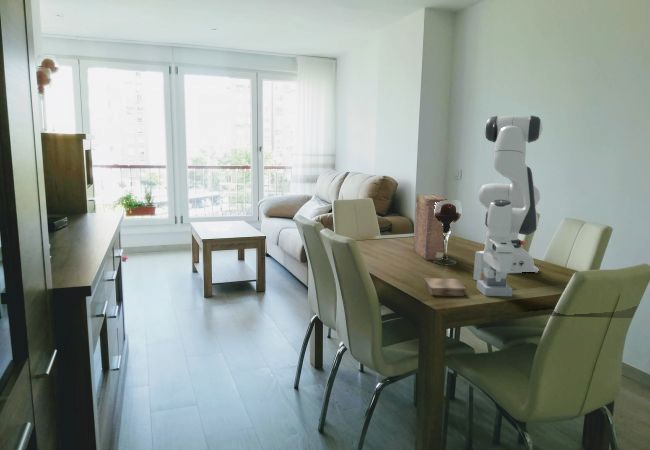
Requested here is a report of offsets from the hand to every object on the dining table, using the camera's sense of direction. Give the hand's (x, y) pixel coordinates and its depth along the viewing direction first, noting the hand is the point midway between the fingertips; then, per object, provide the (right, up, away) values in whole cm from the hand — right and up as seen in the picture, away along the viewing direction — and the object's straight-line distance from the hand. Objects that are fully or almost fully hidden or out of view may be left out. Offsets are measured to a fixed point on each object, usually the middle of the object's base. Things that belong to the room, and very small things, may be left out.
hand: (494, 278), depth 179 cm
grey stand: (0, -5, +1) cm, 5 cm away
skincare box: (+1, -3, +18) cm, 18 cm away
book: (-11, +5, +64) cm, 65 cm away
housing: (0, -2, 0) cm, 2 cm away
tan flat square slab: (-19, -5, +1) cm, 20 cm away
